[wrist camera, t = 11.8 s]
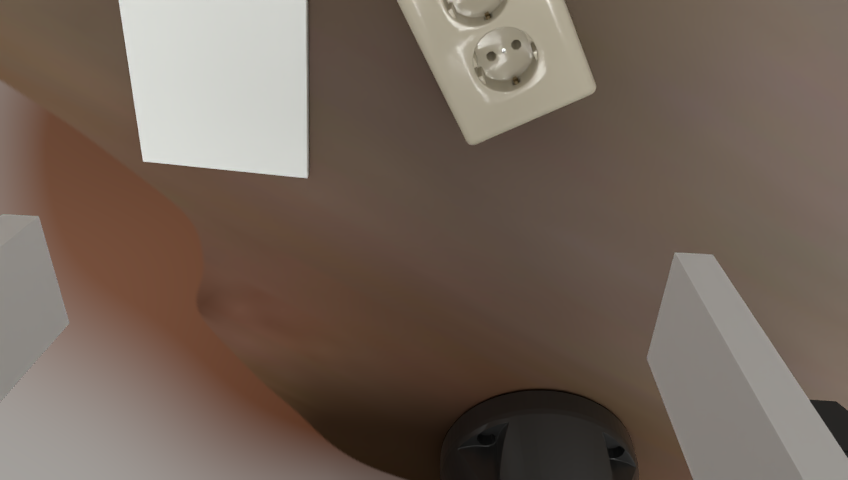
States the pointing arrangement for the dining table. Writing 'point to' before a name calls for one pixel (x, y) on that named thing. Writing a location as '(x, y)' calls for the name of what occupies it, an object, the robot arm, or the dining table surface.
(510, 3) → the electrical outlet
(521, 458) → the robot arm
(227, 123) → the tray
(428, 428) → the dining table surface
